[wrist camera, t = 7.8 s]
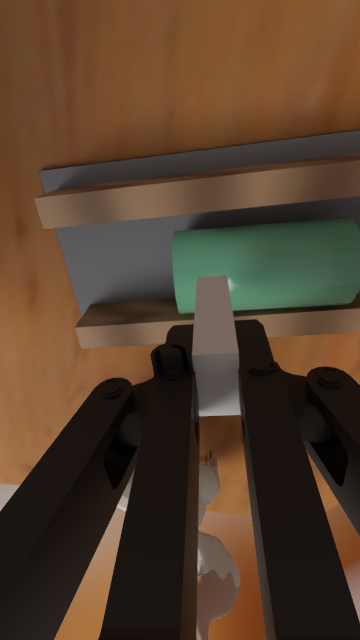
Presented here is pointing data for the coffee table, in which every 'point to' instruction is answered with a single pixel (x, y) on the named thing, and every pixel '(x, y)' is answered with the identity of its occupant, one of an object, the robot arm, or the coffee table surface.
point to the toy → (208, 556)
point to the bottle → (271, 263)
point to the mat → (176, 216)
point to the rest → (197, 197)
